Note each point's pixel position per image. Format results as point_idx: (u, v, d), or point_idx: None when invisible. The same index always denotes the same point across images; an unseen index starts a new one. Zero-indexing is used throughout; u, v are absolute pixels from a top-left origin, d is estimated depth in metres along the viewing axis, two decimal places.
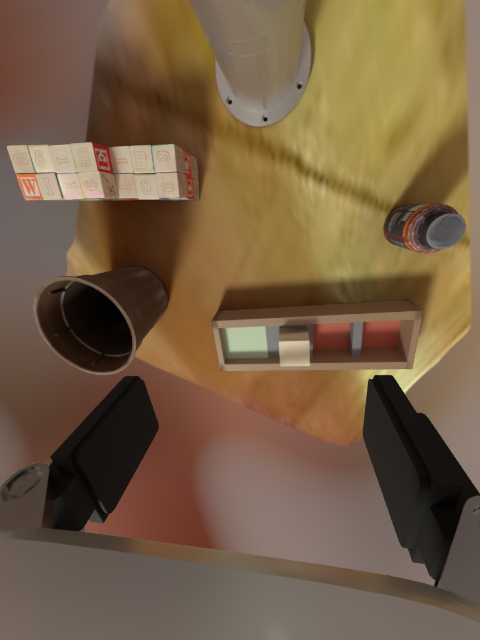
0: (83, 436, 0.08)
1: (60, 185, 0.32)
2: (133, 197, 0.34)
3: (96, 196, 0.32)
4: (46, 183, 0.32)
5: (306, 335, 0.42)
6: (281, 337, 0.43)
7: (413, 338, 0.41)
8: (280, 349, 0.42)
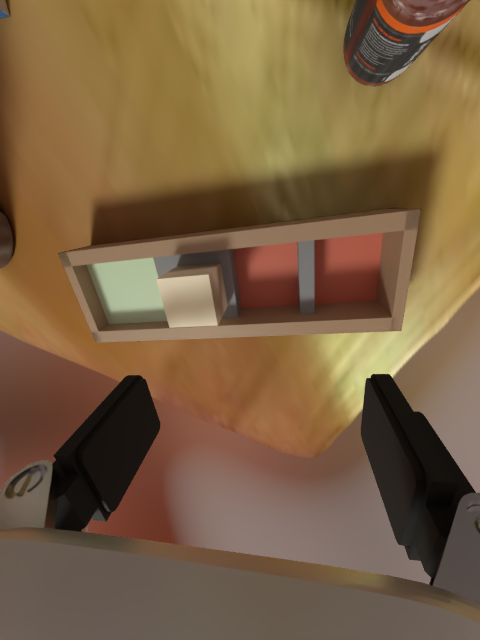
0: (86, 435, 0.08)
1: None
2: None
3: None
4: None
5: (210, 269, 0.23)
6: (168, 274, 0.24)
7: (401, 271, 0.22)
8: (162, 294, 0.23)
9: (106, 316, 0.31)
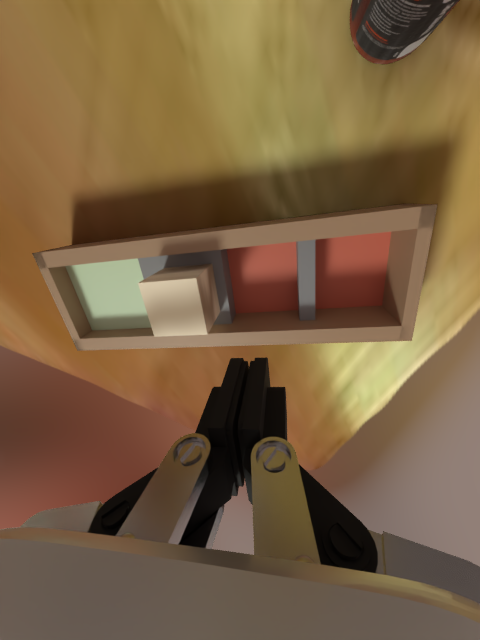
0: (228, 410, 0.08)
1: None
2: None
3: None
4: None
5: (199, 272, 0.21)
6: (152, 277, 0.21)
7: (414, 274, 0.20)
8: (145, 300, 0.21)
9: (89, 322, 0.29)
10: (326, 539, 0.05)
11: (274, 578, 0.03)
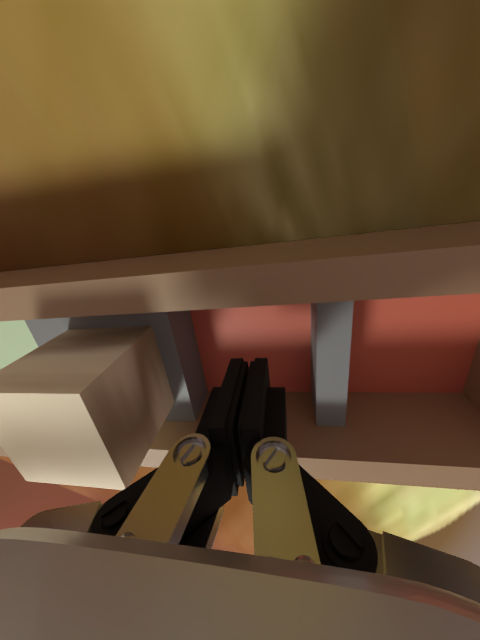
0: (228, 410, 0.08)
1: None
2: None
3: None
4: None
5: (106, 362, 0.10)
6: (14, 366, 0.10)
7: None
8: None
9: None
10: (326, 539, 0.05)
11: (274, 578, 0.03)
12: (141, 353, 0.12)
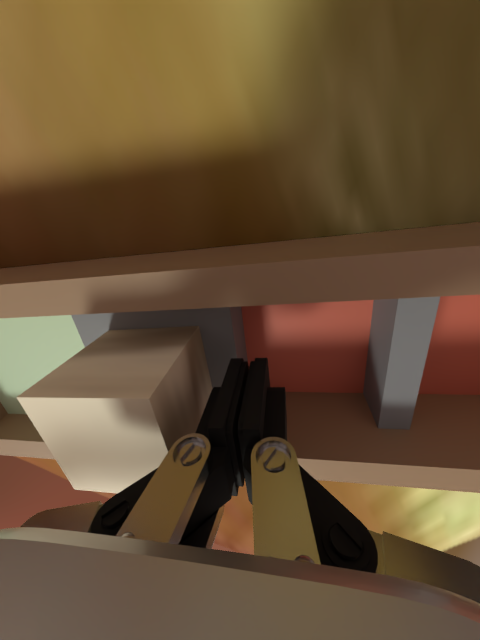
0: (228, 410, 0.08)
1: None
2: None
3: None
4: None
5: (164, 364, 0.09)
6: (65, 369, 0.10)
7: None
8: (42, 430, 0.09)
9: (1, 401, 0.17)
10: (326, 539, 0.05)
11: (274, 578, 0.03)
12: (192, 354, 0.11)
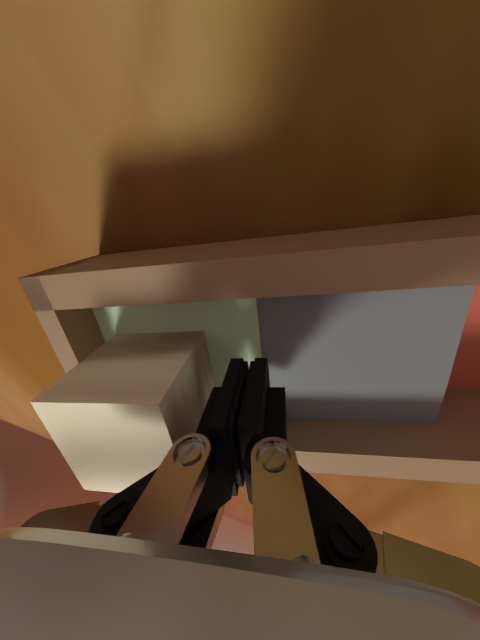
0: (228, 410, 0.08)
1: None
2: None
3: None
4: None
5: (172, 369, 0.09)
6: (75, 374, 0.10)
7: None
8: (54, 433, 0.09)
9: None
10: (326, 539, 0.05)
11: (274, 578, 0.03)
12: (197, 359, 0.11)
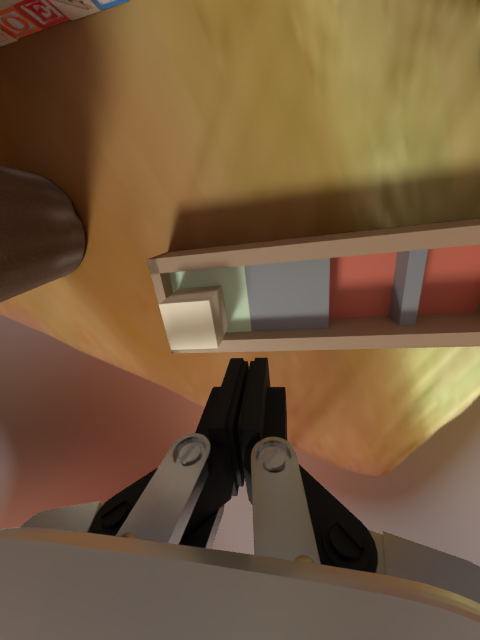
0: (228, 410, 0.08)
1: None
2: None
3: None
4: None
5: (210, 294, 0.24)
6: (170, 298, 0.25)
7: None
8: (164, 318, 0.24)
9: None
10: (326, 539, 0.05)
11: (274, 578, 0.03)
12: (219, 295, 0.26)
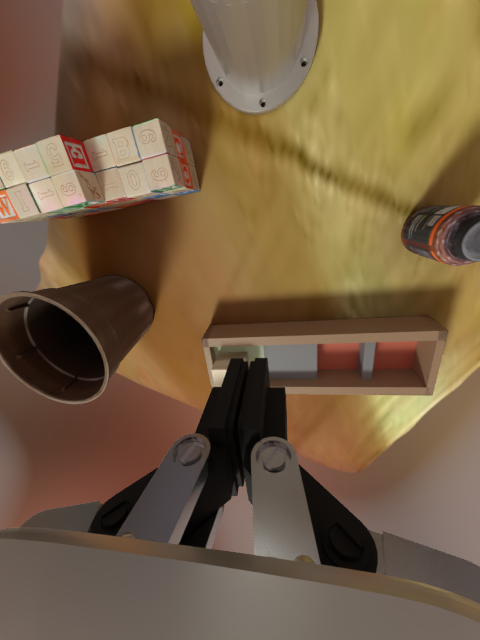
0: (228, 410, 0.08)
1: (34, 197, 0.27)
2: (121, 196, 0.28)
3: (76, 201, 0.26)
4: (19, 198, 0.27)
5: None
6: (216, 363, 0.39)
7: (434, 362, 0.35)
8: (214, 377, 0.39)
9: None
10: (326, 539, 0.05)
11: (274, 578, 0.03)
12: (246, 360, 0.41)
